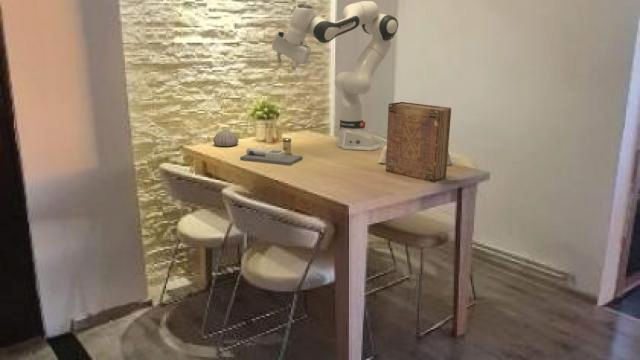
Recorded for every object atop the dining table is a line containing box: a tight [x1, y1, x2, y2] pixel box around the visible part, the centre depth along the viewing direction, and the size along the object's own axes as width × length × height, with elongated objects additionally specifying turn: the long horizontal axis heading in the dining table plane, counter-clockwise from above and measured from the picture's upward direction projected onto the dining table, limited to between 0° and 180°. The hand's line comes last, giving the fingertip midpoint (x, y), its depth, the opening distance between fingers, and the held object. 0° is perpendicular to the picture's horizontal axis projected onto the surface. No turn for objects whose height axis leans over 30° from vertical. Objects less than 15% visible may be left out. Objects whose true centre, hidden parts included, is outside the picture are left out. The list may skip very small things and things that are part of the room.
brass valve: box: [282, 137, 292, 155], centre depth 272 cm, size 4×4×8 cm
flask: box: [447, 151, 453, 166], centre depth 257 cm, size 7×7×10 cm
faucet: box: [378, 145, 387, 165], centre depth 261 cm, size 4×18×10 cm, turn 130°
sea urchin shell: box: [212, 129, 239, 147], centre depth 292 cm, size 13×14×8 cm
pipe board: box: [239, 147, 304, 166], centre depth 261 cm, size 26×14×4 cm, turn 68°
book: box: [385, 101, 452, 183], centre depth 234 cm, size 25×9×30 cm, turn 46°
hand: (285, 65), depth 266 cm, fingers open, 8 cm apart
